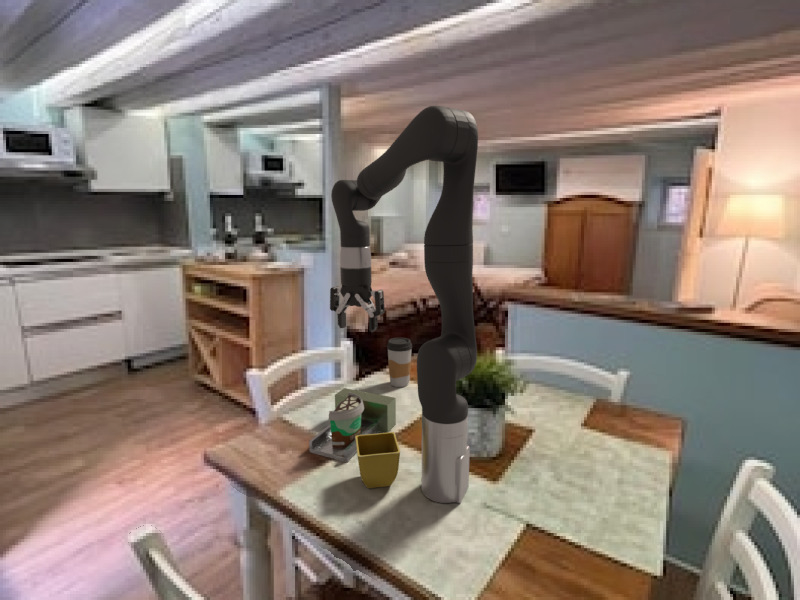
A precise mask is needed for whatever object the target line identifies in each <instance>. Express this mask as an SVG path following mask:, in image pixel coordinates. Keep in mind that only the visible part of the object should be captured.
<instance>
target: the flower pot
mask: <svg viewBox="0 0 800 600" xmlns="http://www.w3.org/2000/svg"><path fill="white" fill-rule="evenodd" d="M355 439H356V447H357V453H356V454H357V461H358V469H359V475H360V478H361V481H362V482H363V484H364V485H365V487H366V488H367V489H374V488H383V487H390V486H392V485H393V483H394V482H395V480H396V478H397V476H398V472H399V466H400V459H401V458H400V457H401V456H400V455H401V449H400V447H399V444H398V440H397V439H398V438H397V436H396V433H395V432H394V431H390V432H388V433H383V432H380V433H379V432H378V433H377V434H367V435H357V436H355Z"/></svg>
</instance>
